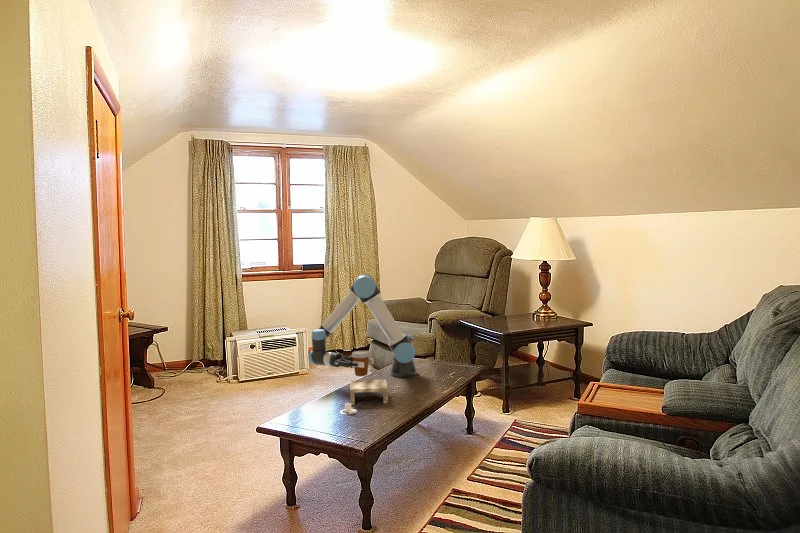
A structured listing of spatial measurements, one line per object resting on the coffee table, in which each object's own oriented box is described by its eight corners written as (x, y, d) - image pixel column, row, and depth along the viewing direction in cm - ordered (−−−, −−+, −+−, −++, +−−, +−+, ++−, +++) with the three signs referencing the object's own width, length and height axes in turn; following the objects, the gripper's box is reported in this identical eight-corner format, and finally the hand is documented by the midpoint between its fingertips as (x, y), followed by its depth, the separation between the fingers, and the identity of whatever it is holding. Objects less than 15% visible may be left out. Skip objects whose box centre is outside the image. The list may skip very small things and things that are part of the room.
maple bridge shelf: (386, 393, 288) (385, 379, 288) (387, 403, 272) (387, 387, 272) (350, 395, 287) (350, 380, 287) (350, 405, 271) (350, 389, 271)
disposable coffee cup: (367, 377, 291) (366, 354, 291) (350, 377, 293) (349, 354, 293) (372, 372, 301) (371, 350, 300) (355, 372, 303) (354, 350, 302)
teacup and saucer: (358, 414, 258) (357, 406, 257) (340, 416, 256) (340, 407, 256) (355, 409, 266) (355, 400, 266) (339, 410, 265) (338, 402, 264)
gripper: (345, 362, 315) (379, 365, 303) (321, 370, 297) (357, 375, 285) (344, 348, 314) (379, 351, 303) (321, 356, 297) (356, 360, 285)
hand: (368, 363), depth 294 cm, fingers closed on disposable coffee cup, 8 cm apart
